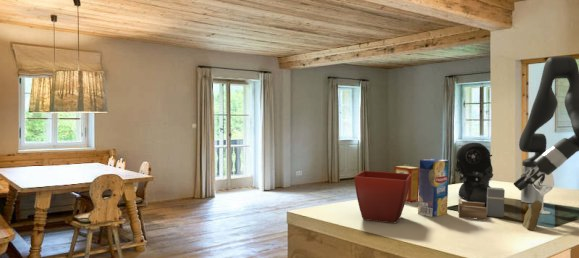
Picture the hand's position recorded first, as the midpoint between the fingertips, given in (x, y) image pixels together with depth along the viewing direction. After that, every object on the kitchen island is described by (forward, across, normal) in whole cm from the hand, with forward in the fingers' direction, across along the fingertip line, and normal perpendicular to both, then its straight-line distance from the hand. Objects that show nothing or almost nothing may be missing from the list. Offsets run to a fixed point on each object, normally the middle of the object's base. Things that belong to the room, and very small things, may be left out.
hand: (516, 187), depth 179 cm
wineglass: (0, -16, +17) cm, 24 cm away
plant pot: (+44, +27, -26) cm, 58 cm away
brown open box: (+20, +5, -3) cm, 21 cm away
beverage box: (+31, +9, -14) cm, 35 cm away
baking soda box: (+40, -18, -23) cm, 50 cm away
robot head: (+18, -35, -1) cm, 40 cm away
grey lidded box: (+14, 0, +3) cm, 14 cm away
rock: (+7, +17, +10) cm, 21 cm away
